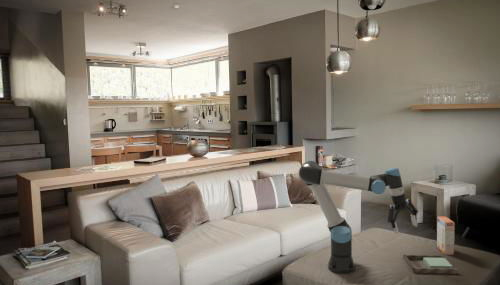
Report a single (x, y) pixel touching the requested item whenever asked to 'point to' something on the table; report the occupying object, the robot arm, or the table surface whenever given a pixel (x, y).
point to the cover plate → (437, 263)
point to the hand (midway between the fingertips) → (406, 229)
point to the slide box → (419, 266)
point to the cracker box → (445, 235)
